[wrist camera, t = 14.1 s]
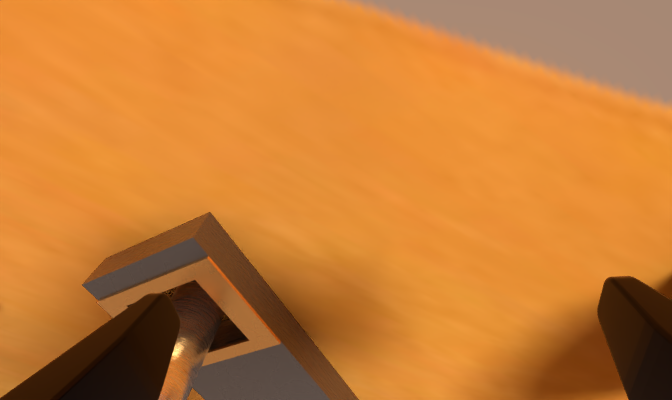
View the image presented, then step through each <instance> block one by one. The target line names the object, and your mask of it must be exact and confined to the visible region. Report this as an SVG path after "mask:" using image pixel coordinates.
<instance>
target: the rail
mask: <svg viewBox="0 0 672 400" xmlns="http://www.w3.org/2000/svg"><path fill="white" fill-rule="evenodd" d="M193 280H196V281H197V282H198V283H199V285H200V286H201V287H202V288H203V289H204V290H205V291H206V292H207V294H208V295H209V296H210V297H211V298H212V299H213V300H214V301H215V302H216V304H217V305H218V306H219V307H220V308H221V309H222V310H223V311H224V312H225V314H226V315H227V316H228V317H229V318H230V319H228V320H224V321H221V323H220V326H219V328H218V330H217V332H216V335H215V337H214V339H213V341H212V344H211V346H210V348H209V350H208V353H207V355H206V357H205V359H204V362H203V364H202V366H201V368H200V371H199V373H198V375H197V378H196V380H195V382H194V384H193V387H192V388H193V389H194V390H195V391H197V392H198V393H199V394H200V395H201V396H202V397H203V398H204V399H205V400H359V399H358V398H357V397H356V396H355V394H354V393H353V392H352V391H351V389H350V388H349V387H348V386H347V384H346V383H345V382H344V381H343V379H342V378H341V377H340V376H339V374H338V373H337V372H336V370H335V369H334V368H333V367H332V365H331V364H330V363H329V362H328V360H327V359H326V358H325V357H324V355H323V354H322V353H321V352H320V350H319V349H318V348H317V346H316V345H315V344H314V343H313V341H312V340H311V339H310V338H309V336H308V335H307V334H306V333H305V331H304V330H303V329H302V328H301V326H300V325H299V324H298V322H297V321H296V320H295V319H294V317H293V316H292V315H291V314H290V312H289V311H288V310H287V309H286V307H285V306H284V305H283V304H282V302H281V301H280V300H279V299H278V297H277V296H276V295H275V293H274V292H273V291H272V290H271V288H270V287H269V286H268V285H267V283H266V282H265V281H264V280H263V278H262V277H261V276H260V275H259V273H258V272H257V271H256V269H255V268H254V267H253V266H252V264H251V263H250V262H249V261H248V259H247V258H246V257H245V256H244V254H243V253H242V252H241V251H240V249H239V248H238V247H237V245H236V244H235V243H234V242H233V240H232V239H231V238H230V237H229V235H228V234H227V233H226V232H225V230H224V229H223V228H222V227H221V225H220V224H219V223H218V222H217V220H216V219H215V218H214V216H213V215H212V214H211V213H210V212H209V213H207V214H205V215H202V216H200V217H198V218H196V219H193V220H191V221H189V222H187V223H184V224H182V225H180V226H178V227H175V228H173V229H171V230H169V231H166V232H164V233H162V234H160V235H157V236H155V237H153V238H151V239H148V240H146V241H144V242H142V243H139V244H137V245H135V246H133V247H131V248H128V249H126V250H124V251H122V252H119V253H117V254H115V255H113V256H110V257H108V258H106V259H105V260H104V261H103V262H102V263H101V264H100V265H99V266H98V268H97V269H96V270H95V271H94V272H93V273H92V274H91V275H90V276H89V278H88V279H87V280H86V281H85V282H84V283H83V284H82V286H84V287H85V288H86V289H87V290H88V291H89V292H90V293H91V294H92V295H93V296H94V297H95V298H96V299H98V301H97V302H96V303H97V304H98V305H100V306H101V307H102V308H103V309H104V310H105V311H106V312H107V313H108V314H109V315H110V316H111V317H113V318H114V317H115V316H117V315H118V314H120V313H121V312H122V311H124V310H125V309H127V308H128V307H129V306H131V305H132V304H134V303H135V302H136V301H138V300H139V299H141V298H142V297H143V296H145V295H147V294H150V293H164V291H167V290H169V289H172V288H175V287H177V286H180V285H182V284H185V283H188V282H190V281H193Z"/></svg>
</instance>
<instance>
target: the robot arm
mask: <svg viewBox="0 0 672 400" xmlns="http://www.w3.org/2000/svg"><path fill="white" fill-rule="evenodd" d="M597 312H598V319H599V322H600V325H601V327H602V330H603V333H604V335H605V338H606V341H607V343H608V346H609V349H610V352H611V354H612V357H613V360H614V362H615V365H616V368H617V370H618V373H619V376H620V379H621V381H622V384H623V387H624V389H625V392H626V394H627V396H628V399H629V400H672V300H671V299H670V298H668V297H666V296H665V295H663V294H661V293H660V292H658V291H656V290H655V289H653V288H651V287H650V286H648V285H646V284H645V283H643V282H641V281H640V280H638V279H636V278H634V277H630V276H620V277H609V278H607V279H606V280H605V282H604V285H603V289H602V293H601V296H600V300H599V304H598V310H597ZM179 330H180V318H179V315H178V313H177V311H176V309H175V307H174V305H173V303H172V301H171V299H170V297H169V296H168V295H167V294H166V293H150V294H147V295H145V296H143V297H142V298H141V299H139V300H138V301H136V302H135V303H134V304H132V305H131V306H129V307H128V308H127V309H125V310H124V311H122V312H121V313H120V314H118V315H117V316H115V317H114V318H112V319H111V320H110V321H108V322H107V323H105V324H104V325H103V326H101V327H100V328H98V329H97V330H96V331H94V332H93V333H91V334H90V335H89V336H87V337H86V338H84V339H83V340H81V341H80V342H79V343H77V344H76V345H74V346H73V347H72V348H70V349H69V350H67V351H66V352H65V353H63V354H62V355H60V356H59V357H58V358H56V359H55V360H53V361H52V362H50V363H49V364H48V365H46V366H45V367H43V368H42V369H41V370H39V371H38V372H36V373H35V374H34V375H32V376H31V377H29V378H28V379H26V380H25V381H24V382H22V383H21V384H19V385H18V386H17V387H15V388H14V389H12V390H11V391H10V392H8V393H7V394H5V395H4V396H3V397H1V398H0V400H158V399H159V396H160V394H161V391H162V388H163V385H164V381H165V378H166V375H167V371H168V368H169V364H170V361H171V357H172V354H173V351H174V347H175V344H176V340H177V337H178V334H179Z"/></svg>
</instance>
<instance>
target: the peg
mask: <svg viewBox="0 0 672 400" xmlns="http://www.w3.org/2000/svg"><path fill="white" fill-rule="evenodd" d="M170 299H171V301H172V303H173V305H174V307H175V309H176V311H177V313H178V315H179V318H180V330H179V334H178V337H177V340H176V344H175V347H174V351H173V354H172V357H171V361H170V364H169V368H168V371H167V375H166V378H165V381H164V385H163V388H162V391H161V394H160V396H159V399H158V400H187V398H188V396H189V393H190V391H191V389H192V387H193V384H194V382H195V380H196V378H197V375H198V373H199V371H200V368H201V366H202V364H203V362H204V359H205V357H206V355H207V353H208V350H209V348H210V346H211V344H212V341H213V339H214V337H215V335H216V332H217V330H218V328H219V326H220V323H221V321H222V319H223V316H224V314H225V312H224V311H223V310H222V309H221V308H220V307H219V306H218V305H217V304H216V302H215V301H214V300H213V299H212V298H211V297H210V296H209V295H208V294H207V292H206V291H205V290H204V289H203V288H202V287H201V286H200V285H199V283H198V282H197V281H196V280H193V281H190V282H188V283H185V284H182V285H180V286H177V288H176V289H175V291H174V293H173V294H172V296H171V297H170Z"/></svg>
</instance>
